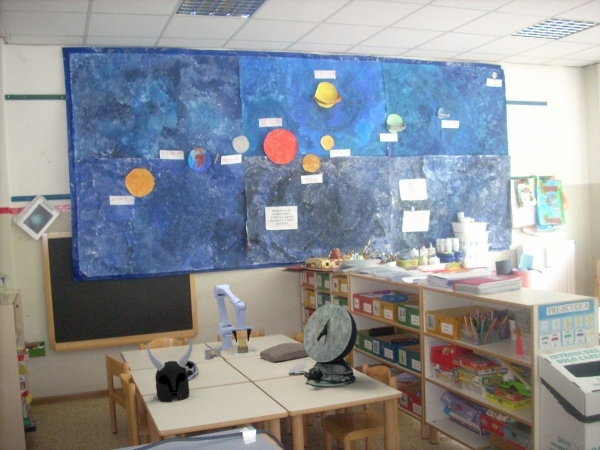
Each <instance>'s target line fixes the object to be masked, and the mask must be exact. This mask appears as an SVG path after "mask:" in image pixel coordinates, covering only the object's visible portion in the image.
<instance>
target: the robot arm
mask: <svg viewBox="0 0 600 450" xmlns="http://www.w3.org/2000/svg"><path fill="white" fill-rule="evenodd" d="M213 294H214V298H215V299H216V305H217V309H218V314H219V318H220V323H219V324H218V326H217V331H218V333H217V334H218V335H219V336H220V337H221V338H220V339H221V347H220V348H221V349H222V350H230V349H233V346H234V344H233V338H234V340H235V343H238V337H237V335H238V333H237V332H241V331H246V335H247V336H246V342H249V341H250V338H251V336H250V335H251V334H252V330H253V329H254V327H253V325H251V326H247V325H246V310H247V304H246V302H245V301H242V300H241V299H239V297H238V296H237V295H234V294H233V292H232V291H231V286H230V285H229V284H228V283H224V284H217V285H215V284H214V287H213ZM226 297H227V298H228V299H229V303H230V304H231V305H232V306H233V307H234V308H233V309H234V313H235V316H236V327H234V325H233V323H232V321H230V320H229V317H228V312H227V308H226V302H225V298H226Z"/></svg>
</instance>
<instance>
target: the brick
mask: <svg viewBox="0 0 600 450" xmlns="http://www.w3.org/2000/svg"><path fill="white" fill-rule="evenodd" d="M237 341H238V346H239V347H246V346H248V344H247V337H239V338H238V337H237Z"/></svg>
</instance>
